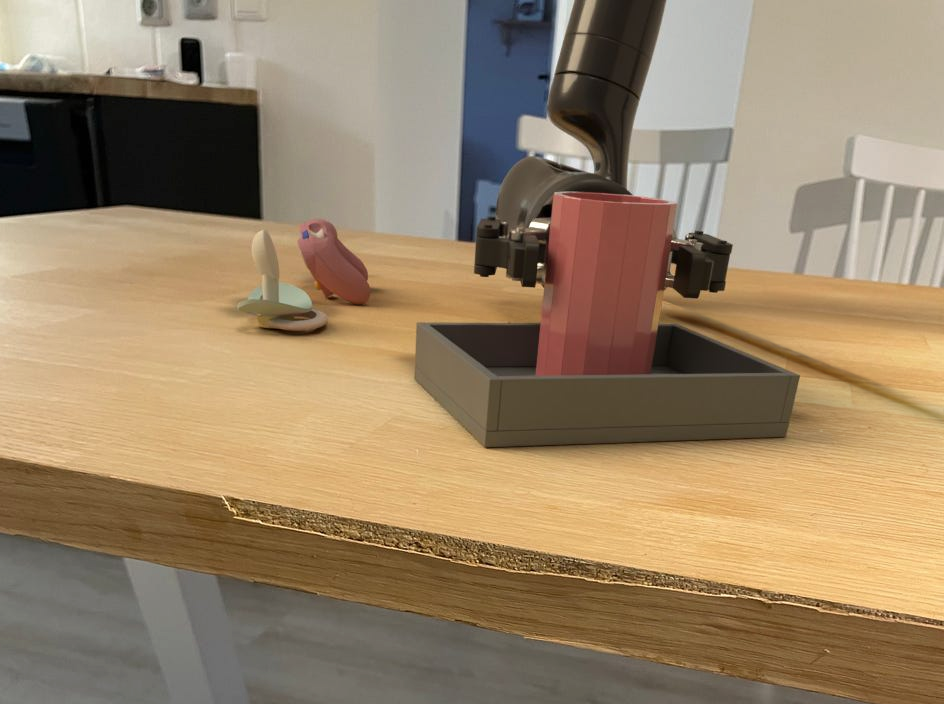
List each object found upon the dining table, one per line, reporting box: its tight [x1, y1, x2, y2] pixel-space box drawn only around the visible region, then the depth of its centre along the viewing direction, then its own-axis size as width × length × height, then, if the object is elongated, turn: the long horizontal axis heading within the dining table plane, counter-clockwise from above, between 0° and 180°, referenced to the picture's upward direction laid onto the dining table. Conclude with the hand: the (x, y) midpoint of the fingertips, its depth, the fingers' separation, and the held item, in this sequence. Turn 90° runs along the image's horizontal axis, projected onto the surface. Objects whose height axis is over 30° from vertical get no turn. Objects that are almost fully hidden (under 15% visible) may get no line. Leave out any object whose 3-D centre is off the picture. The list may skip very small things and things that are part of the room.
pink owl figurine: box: [296, 218, 372, 305], centre depth 79 cm, size 10×5×7 cm, turn 6°
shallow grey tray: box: [413, 321, 801, 448], centre depth 53 cm, size 17×13×3 cm
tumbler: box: [535, 192, 678, 376], centre depth 51 cm, size 6×6×10 cm
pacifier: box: [236, 229, 329, 332], centre depth 66 cm, size 7×6×6 cm
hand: (614, 271), depth 49 cm, fingers open, 8 cm apart
